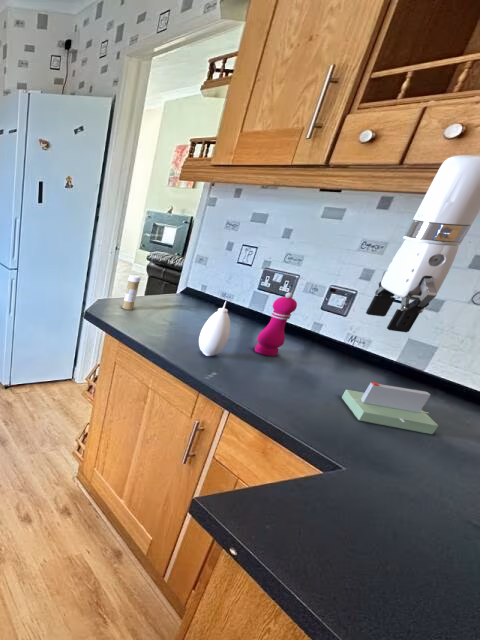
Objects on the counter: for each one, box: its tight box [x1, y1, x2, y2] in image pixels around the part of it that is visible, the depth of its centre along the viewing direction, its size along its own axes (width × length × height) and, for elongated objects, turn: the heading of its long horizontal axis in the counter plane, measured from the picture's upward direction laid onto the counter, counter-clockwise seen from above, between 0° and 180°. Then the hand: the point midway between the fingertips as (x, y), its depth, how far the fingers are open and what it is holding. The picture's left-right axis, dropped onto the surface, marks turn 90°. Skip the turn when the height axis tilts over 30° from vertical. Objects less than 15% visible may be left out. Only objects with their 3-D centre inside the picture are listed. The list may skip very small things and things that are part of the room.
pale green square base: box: [341, 389, 439, 435], centre depth 103 cm, size 15×15×3 cm
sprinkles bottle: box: [122, 274, 142, 310], centre depth 169 cm, size 5×5×14 cm
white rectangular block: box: [361, 381, 432, 413], centre depth 101 cm, size 11×2×5 cm, turn 68°
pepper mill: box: [254, 291, 298, 357], centre depth 131 cm, size 7×7×20 cm
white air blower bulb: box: [198, 300, 231, 357], centre depth 128 cm, size 8×8×18 cm
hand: (385, 322), depth 83 cm, fingers open, 9 cm apart
